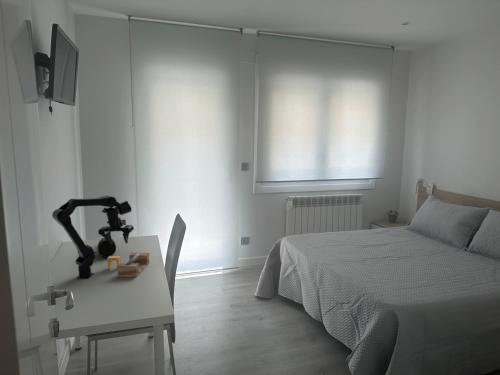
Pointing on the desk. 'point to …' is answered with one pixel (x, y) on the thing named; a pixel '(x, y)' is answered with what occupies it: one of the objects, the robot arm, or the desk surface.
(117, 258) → the tan u-shaped bracket
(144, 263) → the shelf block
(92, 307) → the desk surface
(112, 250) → the black cylinder
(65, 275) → the desk surface
